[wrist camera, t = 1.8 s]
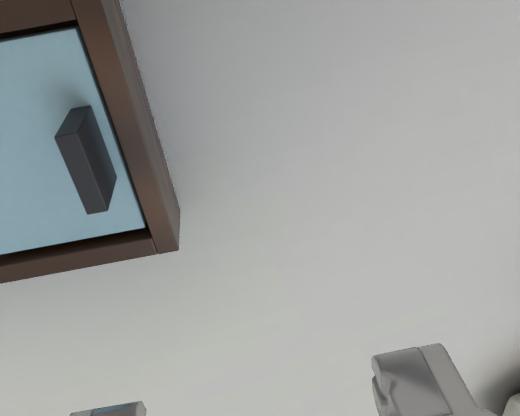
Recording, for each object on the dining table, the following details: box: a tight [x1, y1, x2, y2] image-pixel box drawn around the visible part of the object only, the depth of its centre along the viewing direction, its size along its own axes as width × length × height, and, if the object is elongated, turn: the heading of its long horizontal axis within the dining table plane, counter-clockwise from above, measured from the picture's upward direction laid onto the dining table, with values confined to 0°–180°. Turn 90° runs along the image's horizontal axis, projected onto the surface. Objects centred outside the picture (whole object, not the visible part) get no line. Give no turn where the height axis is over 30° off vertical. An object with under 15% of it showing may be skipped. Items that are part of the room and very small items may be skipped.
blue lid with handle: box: [0, 26, 146, 255], centre depth 22 cm, size 11×9×4 cm
